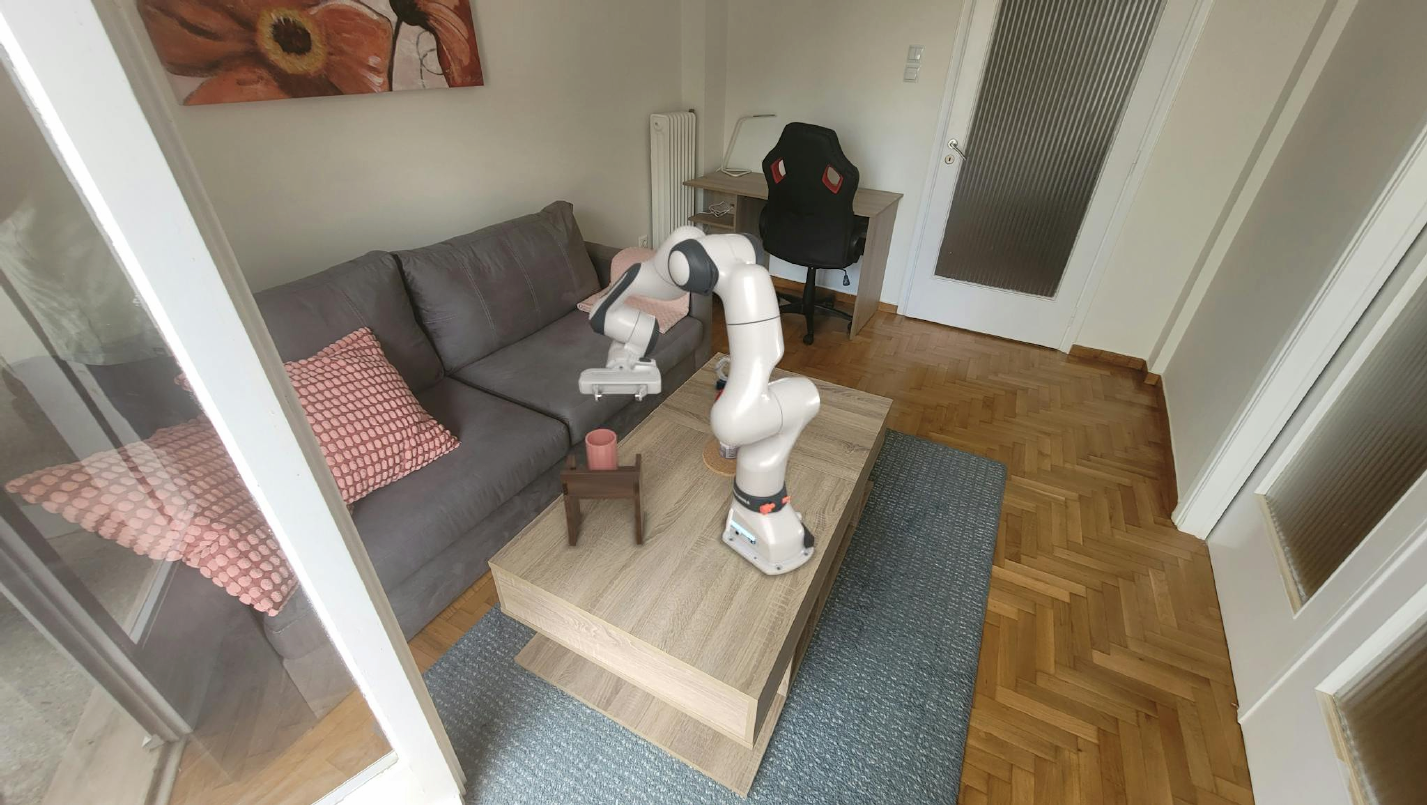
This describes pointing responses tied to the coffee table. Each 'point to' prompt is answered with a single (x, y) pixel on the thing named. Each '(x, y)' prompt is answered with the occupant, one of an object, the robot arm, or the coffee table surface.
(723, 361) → the watch
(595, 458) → the cup
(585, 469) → the dark wooden stand
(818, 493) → the coffee table surface
